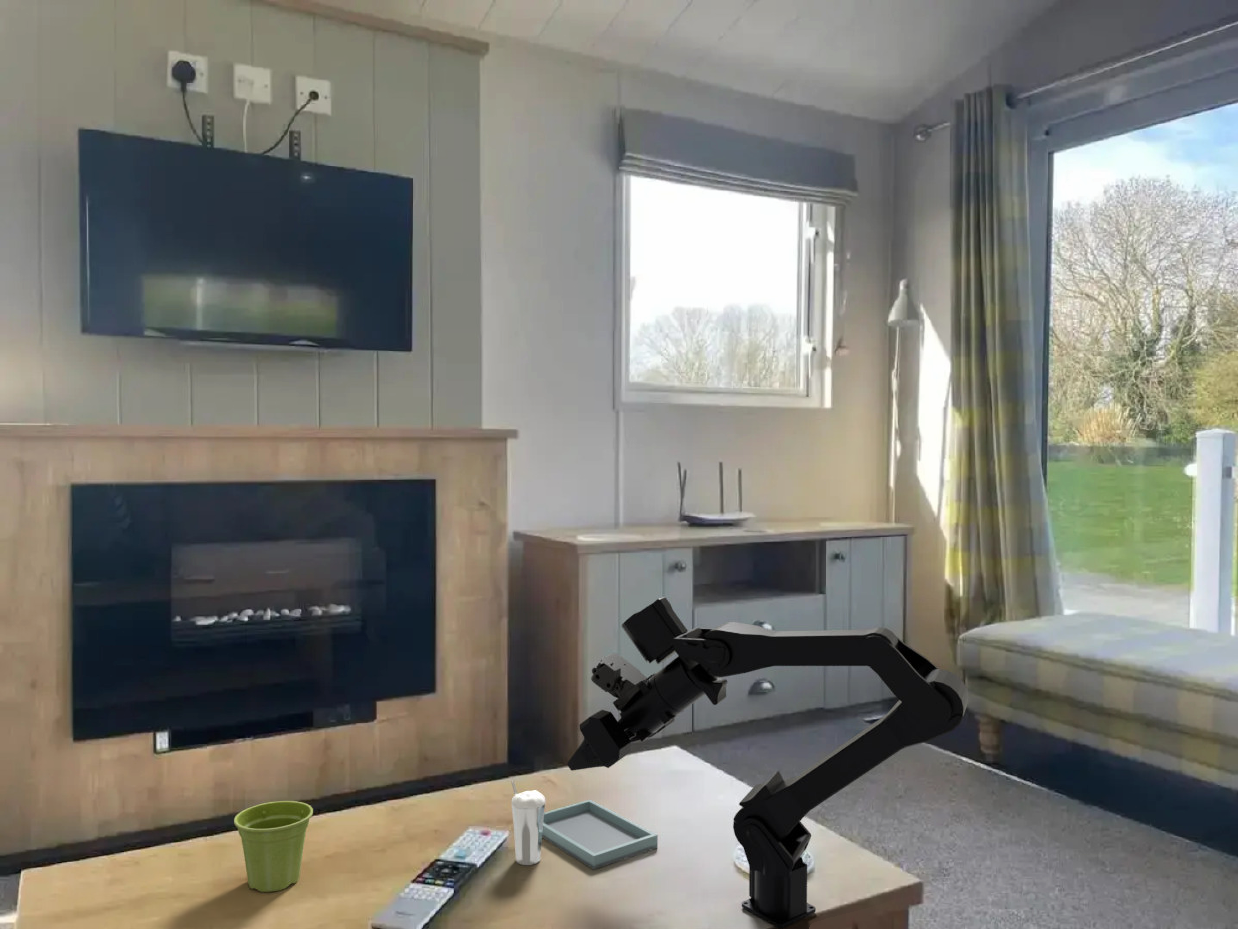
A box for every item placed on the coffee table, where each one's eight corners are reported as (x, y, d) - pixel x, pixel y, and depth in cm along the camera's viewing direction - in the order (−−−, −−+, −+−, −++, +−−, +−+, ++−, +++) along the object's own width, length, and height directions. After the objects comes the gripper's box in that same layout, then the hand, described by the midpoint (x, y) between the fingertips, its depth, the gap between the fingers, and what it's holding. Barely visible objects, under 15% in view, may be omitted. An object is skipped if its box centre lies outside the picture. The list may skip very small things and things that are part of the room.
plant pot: (235, 871, 120) (235, 805, 120) (311, 860, 123) (311, 796, 123) (232, 905, 111) (232, 834, 111) (314, 892, 115) (314, 823, 114)
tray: (657, 847, 128) (657, 835, 128) (593, 869, 121) (593, 856, 121) (589, 811, 140) (589, 799, 140) (528, 829, 134) (528, 817, 134)
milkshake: (523, 848, 127) (524, 776, 127) (551, 859, 124) (552, 786, 124) (499, 859, 124) (500, 785, 124) (528, 871, 121) (528, 795, 120)
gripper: (661, 626, 127) (584, 688, 132) (600, 654, 110) (515, 723, 116) (709, 694, 124) (629, 755, 129) (654, 733, 107) (564, 800, 113)
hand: (586, 756), depth 122 cm, fingers open, 9 cm apart
